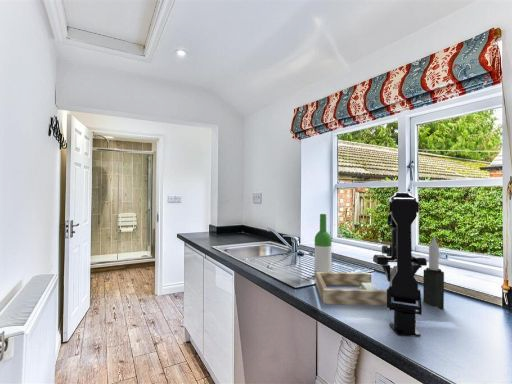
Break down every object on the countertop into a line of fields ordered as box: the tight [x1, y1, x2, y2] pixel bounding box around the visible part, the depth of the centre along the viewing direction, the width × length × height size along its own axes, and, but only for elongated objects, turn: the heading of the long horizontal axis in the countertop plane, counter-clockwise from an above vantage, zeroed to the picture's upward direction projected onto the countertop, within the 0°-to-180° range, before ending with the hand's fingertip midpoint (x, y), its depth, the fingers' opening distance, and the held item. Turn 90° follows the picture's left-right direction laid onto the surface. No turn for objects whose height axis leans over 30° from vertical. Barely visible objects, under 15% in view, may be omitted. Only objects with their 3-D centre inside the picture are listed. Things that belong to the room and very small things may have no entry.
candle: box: [422, 236, 445, 310], centre depth 104 cm, size 5×5×25 cm
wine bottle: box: [313, 213, 332, 276], centre depth 137 cm, size 8×8×30 cm
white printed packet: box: [388, 265, 397, 286], centre depth 116 cm, size 4×7×10 cm, turn 120°
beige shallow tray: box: [314, 271, 387, 307], centre depth 114 cm, size 23×22×6 cm
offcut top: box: [360, 282, 379, 290], centre depth 113 cm, size 4×14×2 cm, turn 175°
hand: (399, 281), depth 116 cm, fingers closed on white printed packet, 8 cm apart
